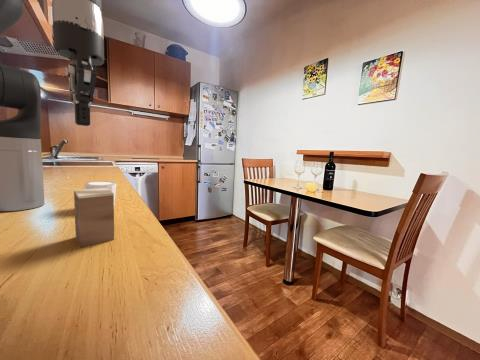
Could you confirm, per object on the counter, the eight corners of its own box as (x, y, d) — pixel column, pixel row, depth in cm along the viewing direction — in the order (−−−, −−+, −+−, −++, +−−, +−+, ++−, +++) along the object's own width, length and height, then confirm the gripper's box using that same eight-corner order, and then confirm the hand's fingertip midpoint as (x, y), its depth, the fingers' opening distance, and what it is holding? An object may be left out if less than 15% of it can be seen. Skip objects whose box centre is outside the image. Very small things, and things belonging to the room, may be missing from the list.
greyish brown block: (75, 237, 37) (73, 190, 36) (107, 231, 41) (106, 188, 40) (80, 247, 34) (78, 196, 33) (114, 239, 38) (113, 193, 36)
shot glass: (101, 213, 50) (100, 186, 49) (78, 210, 52) (77, 183, 51) (122, 206, 57) (122, 182, 56) (102, 203, 58) (101, 180, 57)
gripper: (49, 33, 40) (54, 123, 42) (56, 4, 31) (61, 120, 33) (95, 49, 45) (97, 128, 47) (112, 28, 36) (113, 127, 38)
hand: (82, 125), depth 40 cm, fingers closed
